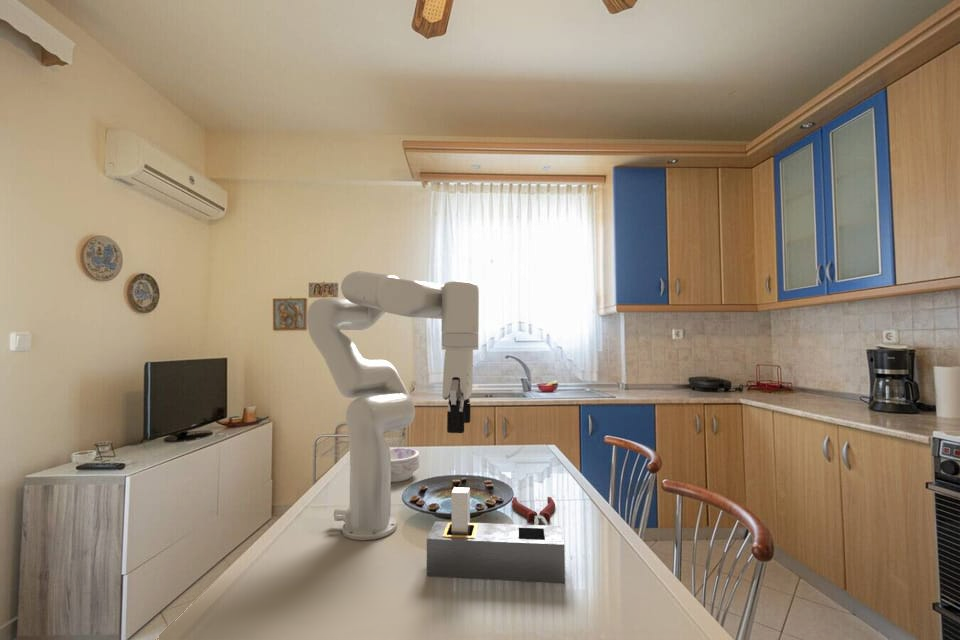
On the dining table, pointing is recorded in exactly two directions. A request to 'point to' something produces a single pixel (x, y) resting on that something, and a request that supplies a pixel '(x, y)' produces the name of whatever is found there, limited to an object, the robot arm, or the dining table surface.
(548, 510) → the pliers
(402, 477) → the white textured bowl
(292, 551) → the dining table surface
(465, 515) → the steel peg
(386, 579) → the dining table surface
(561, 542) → the grey peg board
